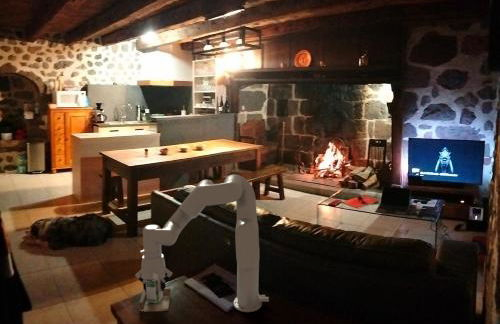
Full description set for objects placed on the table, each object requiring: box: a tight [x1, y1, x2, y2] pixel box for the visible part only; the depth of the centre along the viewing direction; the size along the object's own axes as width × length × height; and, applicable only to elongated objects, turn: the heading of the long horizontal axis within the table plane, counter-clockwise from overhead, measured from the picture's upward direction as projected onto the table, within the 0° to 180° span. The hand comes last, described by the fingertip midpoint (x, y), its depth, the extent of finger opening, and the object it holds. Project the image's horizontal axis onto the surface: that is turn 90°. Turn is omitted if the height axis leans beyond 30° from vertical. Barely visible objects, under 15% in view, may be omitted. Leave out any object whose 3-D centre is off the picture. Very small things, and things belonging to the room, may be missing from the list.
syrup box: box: [146, 273, 163, 303], centre depth 180 cm, size 6×6×14 cm
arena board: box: [139, 286, 171, 313], centre depth 181 cm, size 12×12×4 cm
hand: (154, 289), depth 180 cm, fingers closed on syrup box, 6 cm apart
